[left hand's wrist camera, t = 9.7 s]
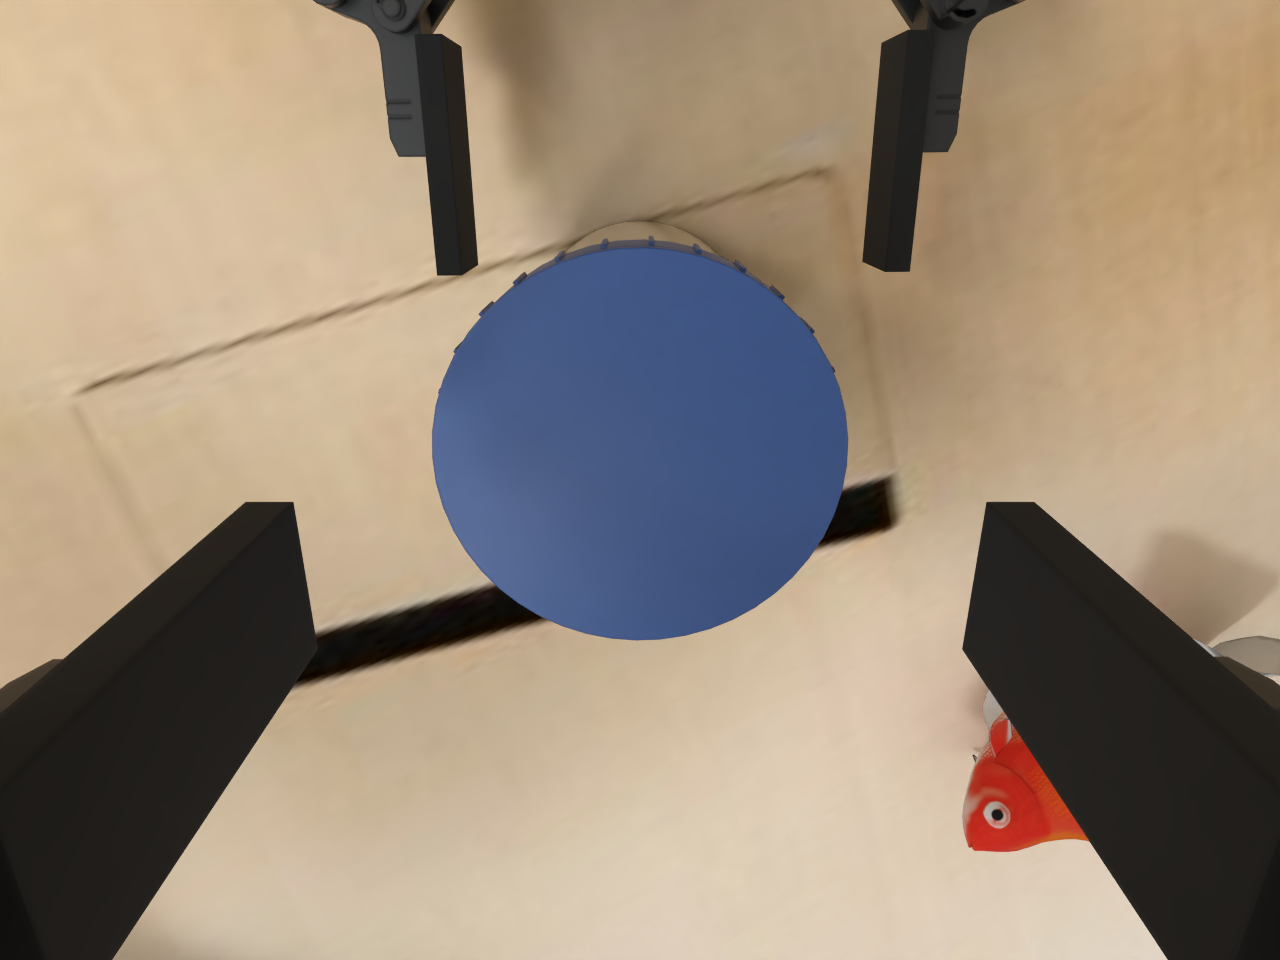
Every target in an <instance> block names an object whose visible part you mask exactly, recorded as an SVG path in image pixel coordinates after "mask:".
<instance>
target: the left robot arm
mask: <svg viewBox="0 0 1280 960" xmlns="http://www.w3.org/2000/svg"><path fill="white" fill-rule="evenodd" d="M317 649H318V648H317V642H316V636H315V630H314V624H313V618H312V612H311V606H310V600H309V594H308V588H307V582H306V575H305V569H304V563H303V557H302V551H301V545H300V539H299V533H298V527H297V521H296V515H295V509H294V503H293V502H245V503H244V504H243V505H242V506H241V507H239V508H238V509H237V510H236V511H235V512H234V513H232V514H231V515H230V516H229V517H228V518H227V519H225V520H224V521H223V522H222V523H221V524H220V525H219V526H217V527H216V528H215V529H214V530H213V531H212V532H210V533H209V534H208V535H207V536H206V537H205V538H203V539H202V540H201V541H200V542H199V543H198V544H196V545H195V546H194V547H193V548H192V549H191V550H190V551H188V552H187V553H186V554H185V555H184V556H183V557H181V558H180V559H179V560H178V561H177V562H176V563H174V564H173V565H172V566H171V567H170V568H169V569H167V570H166V571H165V572H164V573H163V574H162V575H161V576H159V577H158V578H157V579H156V580H155V581H154V582H152V583H151V584H150V585H149V586H148V587H147V588H145V589H144V590H143V591H142V592H141V593H140V594H138V595H137V596H136V597H135V598H134V599H133V600H132V601H130V602H129V603H128V604H127V605H126V606H125V607H123V608H122V609H121V610H120V611H119V612H118V613H116V614H115V615H114V616H113V617H112V618H111V619H109V620H108V621H107V622H106V623H105V624H104V625H102V626H101V627H100V628H99V629H98V630H97V631H96V632H94V633H93V634H92V635H91V636H90V637H89V638H87V639H86V640H85V641H84V642H83V643H82V644H80V645H79V646H78V647H77V648H76V649H75V650H73V651H72V652H71V653H70V654H69V655H68V656H67V657H65V658H64V659H53V660H51V661H49V662H47V663H45V664H43V665H42V666H40V667H38V668H36V669H34V670H32V671H30V672H28V673H26V674H25V675H23V676H21V677H19V678H17V679H15V680H13V681H11V682H9V683H8V684H6V685H5V686H4V687H3V688H1V689H0V960H112V959H113V958H114V956H115V955H116V953H117V952H118V950H119V949H120V947H121V946H122V944H123V943H124V941H125V939H126V938H127V936H128V935H129V933H130V932H131V930H132V929H133V927H134V926H135V924H136V923H137V921H138V920H139V918H140V917H141V915H142V914H143V912H144V911H145V909H146V908H147V906H148V905H149V903H150V902H151V900H152V899H153V897H154V896H155V894H156V893H157V891H158V890H159V888H160V887H161V885H162V884H163V882H164V881H165V879H166V878H167V876H168V875H169V873H170V872H171V870H172V868H173V867H174V865H175V864H176V862H177V861H178V859H179V858H180V856H181V855H182V853H183V852H184V850H185V849H186V847H187V846H188V844H189V843H190V841H191V840H192V838H193V837H194V835H195V834H196V832H197V831H198V829H199V828H200V826H201V825H202V823H203V822H204V820H205V819H206V817H207V816H208V814H209V813H210V811H211V810H212V808H213V807H214V805H215V804H216V802H217V801H218V799H219V797H220V796H221V794H222V793H223V791H224V790H225V788H226V787H227V785H228V784H229V782H230V781H231V779H232V778H233V776H234V775H235V773H236V772H237V770H238V769H239V767H240V766H241V764H242V763H243V761H244V760H245V758H246V757H247V755H248V754H249V752H250V751H251V749H252V748H253V746H254V745H255V743H256V742H257V740H258V739H259V737H260V736H261V734H262V733H263V731H264V730H265V728H266V726H267V725H268V723H269V722H270V720H271V719H272V717H273V716H274V714H275V713H276V711H277V710H278V708H279V707H280V705H281V704H282V702H283V701H284V699H285V698H286V696H287V695H288V693H289V692H290V690H291V689H292V687H293V686H294V684H295V683H296V681H297V680H298V678H299V677H300V675H301V674H302V672H303V671H304V669H305V668H306V666H307V665H308V663H309V662H310V660H311V659H312V657H313V655H314V654H315V652H316V651H317ZM962 649H963V651H964V652H965V654H966V655H967V657H968V659H969V660H970V662H971V663H972V665H973V666H974V668H975V669H976V671H977V672H978V674H979V675H980V677H981V678H982V680H983V681H984V683H985V684H986V686H987V687H988V689H989V690H990V692H991V693H992V695H993V696H994V698H995V699H996V701H997V702H998V704H999V705H1000V707H1001V708H1002V710H1003V711H1004V713H1005V714H1006V716H1007V717H1008V719H1009V720H1010V722H1011V723H1012V725H1013V726H1014V728H1015V730H1016V731H1017V733H1018V734H1019V736H1020V737H1021V739H1022V740H1023V742H1024V743H1025V745H1026V746H1027V748H1028V749H1029V751H1030V752H1031V754H1032V755H1033V757H1034V758H1035V760H1036V761H1037V763H1038V764H1039V766H1040V767H1041V769H1042V770H1043V772H1044V773H1045V775H1046V776H1047V778H1048V779H1049V781H1050V782H1051V784H1052V785H1053V787H1054V788H1055V790H1056V791H1057V793H1058V794H1059V796H1060V797H1061V799H1062V801H1063V802H1064V804H1065V805H1066V807H1067V808H1068V810H1069V811H1070V813H1071V814H1072V816H1073V817H1074V819H1075V820H1076V822H1077V823H1078V825H1079V826H1080V828H1081V829H1082V831H1083V832H1084V834H1085V835H1086V837H1087V838H1088V840H1089V841H1090V843H1091V844H1092V846H1093V847H1094V849H1095V850H1096V852H1097V853H1098V855H1099V856H1100V858H1101V859H1102V861H1103V862H1104V864H1105V865H1106V867H1107V868H1108V870H1109V872H1110V873H1111V875H1112V876H1113V878H1114V879H1115V881H1116V882H1117V884H1118V885H1119V887H1120V888H1121V890H1122V891H1123V893H1124V894H1125V896H1126V897H1127V899H1128V900H1129V902H1130V903H1131V905H1132V906H1133V908H1134V909H1135V911H1136V912H1137V914H1138V915H1139V917H1140V918H1141V920H1142V921H1143V923H1144V924H1145V926H1146V927H1147V929H1148V930H1149V932H1150V933H1151V935H1152V936H1153V938H1154V939H1155V941H1156V943H1157V944H1158V946H1159V947H1160V949H1161V950H1162V952H1163V953H1164V955H1165V956H1166V958H1167V959H1168V960H1280V685H1278V684H1277V683H1276V682H1275V681H1273V680H1271V679H1269V678H1268V677H1266V676H1264V675H1262V674H1260V673H1258V672H1256V671H1254V670H1252V669H1250V668H1249V667H1247V666H1245V665H1243V664H1241V663H1239V662H1237V661H1235V660H1233V659H1231V658H1230V657H1213V656H1212V655H1211V654H1210V653H1209V652H1208V651H1207V650H1205V649H1204V648H1203V647H1202V646H1201V645H1200V644H1198V643H1197V642H1196V641H1195V640H1194V639H1193V638H1191V637H1190V636H1189V635H1188V634H1187V633H1186V632H1184V631H1183V630H1182V629H1181V628H1180V627H1179V626H1178V625H1176V624H1175V623H1174V622H1173V621H1172V620H1171V619H1169V618H1168V617H1167V616H1166V615H1165V614H1164V613H1162V612H1161V611H1160V610H1159V609H1158V608H1157V607H1155V606H1154V605H1153V604H1152V603H1151V602H1150V601H1148V600H1147V599H1146V598H1145V597H1144V596H1143V595H1142V594H1140V593H1139V592H1138V591H1137V590H1136V589H1135V588H1133V587H1132V586H1131V585H1130V584H1129V583H1128V582H1126V581H1125V580H1124V579H1123V578H1122V577H1121V576H1119V575H1118V574H1117V573H1116V572H1115V571H1114V570H1113V569H1111V568H1110V567H1109V566H1108V565H1107V564H1106V563H1104V562H1103V561H1102V560H1101V559H1100V558H1099V557H1097V556H1096V555H1095V554H1094V553H1093V552H1092V551H1090V550H1089V549H1088V548H1087V547H1086V546H1085V545H1084V544H1082V543H1081V542H1080V541H1079V540H1078V539H1077V538H1075V537H1074V536H1073V535H1072V534H1071V533H1070V532H1068V531H1067V530H1066V529H1065V528H1064V527H1063V526H1061V525H1060V524H1059V523H1058V522H1057V521H1056V520H1055V519H1053V518H1052V517H1051V516H1050V515H1049V514H1048V513H1046V512H1045V511H1044V510H1043V509H1042V508H1041V507H1039V506H1038V505H1037V504H1036V503H1035V502H987V503H986V509H985V515H984V521H983V527H982V533H981V539H980V545H979V551H978V557H977V563H976V569H975V575H974V582H973V588H972V594H971V600H970V606H969V612H968V618H967V624H966V630H965V636H964V642H963V648H962Z"/></svg>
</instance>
